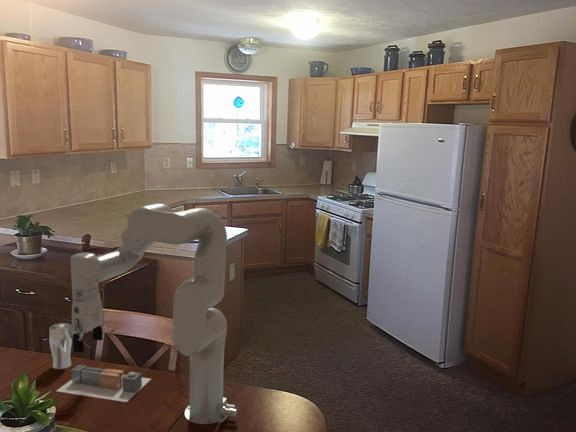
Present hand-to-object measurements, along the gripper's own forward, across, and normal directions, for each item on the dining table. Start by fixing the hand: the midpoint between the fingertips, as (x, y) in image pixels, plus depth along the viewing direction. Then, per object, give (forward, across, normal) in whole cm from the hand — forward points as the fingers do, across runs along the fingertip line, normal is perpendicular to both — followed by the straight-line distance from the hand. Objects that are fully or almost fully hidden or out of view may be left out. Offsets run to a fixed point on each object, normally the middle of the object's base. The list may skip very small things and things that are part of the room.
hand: (88, 345), depth 155 cm
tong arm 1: (+12, -1, -2) cm, 12 cm away
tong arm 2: (+12, +1, -2) cm, 12 cm away
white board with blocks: (+14, 0, -5) cm, 15 cm away
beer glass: (+13, +8, +17) cm, 23 cm away
